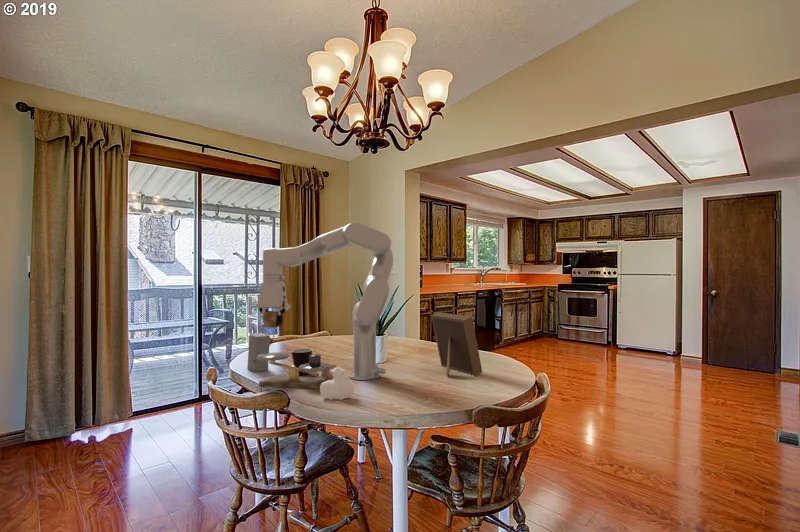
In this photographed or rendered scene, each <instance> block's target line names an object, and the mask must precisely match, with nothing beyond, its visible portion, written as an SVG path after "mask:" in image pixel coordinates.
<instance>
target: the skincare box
mask: <svg viewBox="0 0 800 532" xmlns="http://www.w3.org/2000/svg"><path fill="white" fill-rule="evenodd" d="M248 338H249V339H248V340H249V341H248V354H247V370H250V371H252V372H253V373H259V372H263V371H264V372H266V371H269V361H262V360H258V359H257V356H258V355H261V354H265V353H270V344H271V343H270V340H271V335H268V334H267V333H263V332H262V333H261V332H259V333H249V337H248Z"/></svg>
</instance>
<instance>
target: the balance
mask: <svg viewBox="0 0 800 532" xmlns="http://www.w3.org/2000/svg"><path fill="white" fill-rule="evenodd" d="M289 356H290V354H289V353H287V352H279V351H278V352H276V351H275V352H269V353H265V354H261V355H258V356H257V359H258V360H262V361H268V365H269V364H270V365H272V366H273V365H274V366H277V367H281V368H283V369H284V368H285V369H288V376H289V381H296V380H298V379H299V371H300V372H304V373H308V375H313V376H317V377H318V376H319V374H320V372H321V371H324V370H327V369H330V368H331V365H330V364H328V363H329V362H322V359H321V358H322V357H321V354H316V353H315V354H312V355H309V363H306V364H302V365H300V366H299V368H297V367H296V366H294V365H293V364H292V365H287V364H284V363H280V362H276V361H280V360H286V359H287V358H289Z"/></svg>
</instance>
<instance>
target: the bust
mask: <svg viewBox="0 0 800 532" xmlns="http://www.w3.org/2000/svg"><path fill="white" fill-rule="evenodd" d="M329 371H330V373H332V372H333V373H332V376H334V378H333V380H328V381H326V382H323V383H322V384H321V385H320V387H319V392H320V395H321V397H322V398H323V399H328V400H331V401H332V400H339V401H343V400H344V399H349V398H351V397H352V395H353V393H354V389H355V385H354V383H353V382H352V381H349V380H347V379H343V377H344V376H345V373H346V372H347V370H346V369H344V368H342V367H340V366H336V368H334V369H332V370H329Z"/></svg>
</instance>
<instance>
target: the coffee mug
mask: <svg viewBox="0 0 800 532" xmlns="http://www.w3.org/2000/svg"><path fill="white" fill-rule="evenodd" d="M291 355H292V366H293V365H294V366H296V367H297V368H299V366H300V365H302V364H306V363H309V355H313V349H312V348H306V347H305V348H296V349H292V350H291ZM303 375H304V376H308V375H309V374H308V373H304V372H300V371H299V376H300V377H304V376H303Z"/></svg>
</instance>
